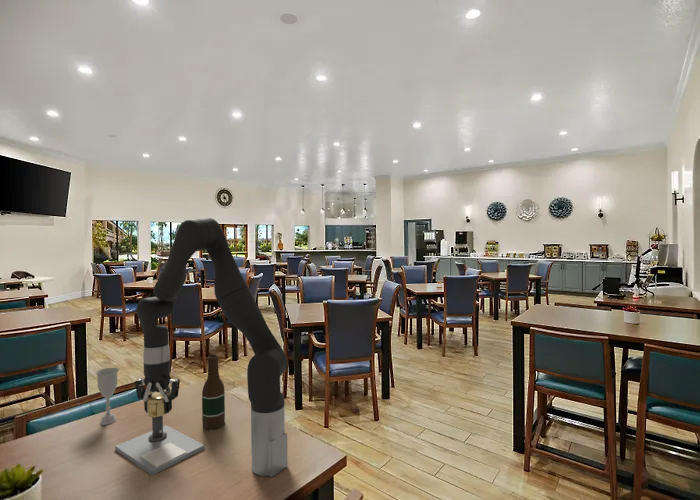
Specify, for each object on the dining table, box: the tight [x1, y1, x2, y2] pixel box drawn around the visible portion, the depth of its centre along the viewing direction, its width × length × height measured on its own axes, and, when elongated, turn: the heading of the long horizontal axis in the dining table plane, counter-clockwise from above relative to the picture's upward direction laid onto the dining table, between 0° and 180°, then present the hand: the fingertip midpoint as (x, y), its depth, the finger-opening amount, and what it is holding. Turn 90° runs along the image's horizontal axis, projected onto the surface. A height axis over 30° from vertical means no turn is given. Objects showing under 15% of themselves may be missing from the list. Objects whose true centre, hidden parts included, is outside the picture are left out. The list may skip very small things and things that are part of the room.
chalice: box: [95, 367, 119, 426], centre depth 134 cm, size 7×7×18 cm
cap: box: [146, 393, 167, 418], centre depth 120 cm, size 7×6×5 cm
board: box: [114, 415, 205, 476], centre depth 116 cm, size 22×16×9 cm
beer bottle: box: [201, 354, 226, 431], centre depth 131 cm, size 8×8×24 cm
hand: (158, 411), depth 120 cm, fingers closed on cap, 5 cm apart
